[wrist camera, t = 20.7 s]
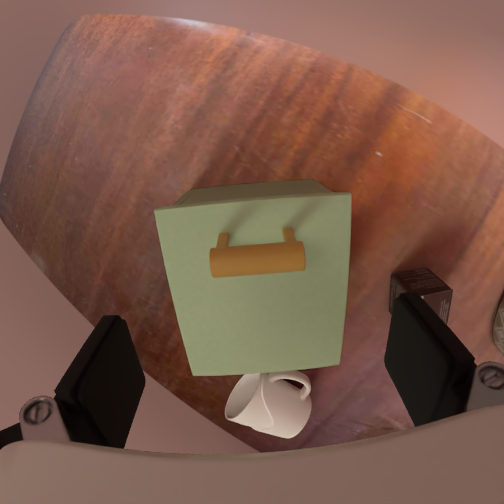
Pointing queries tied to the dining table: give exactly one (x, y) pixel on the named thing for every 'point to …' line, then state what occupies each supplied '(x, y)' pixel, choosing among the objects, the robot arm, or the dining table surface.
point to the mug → (271, 403)
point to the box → (422, 290)
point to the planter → (499, 328)
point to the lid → (259, 280)
